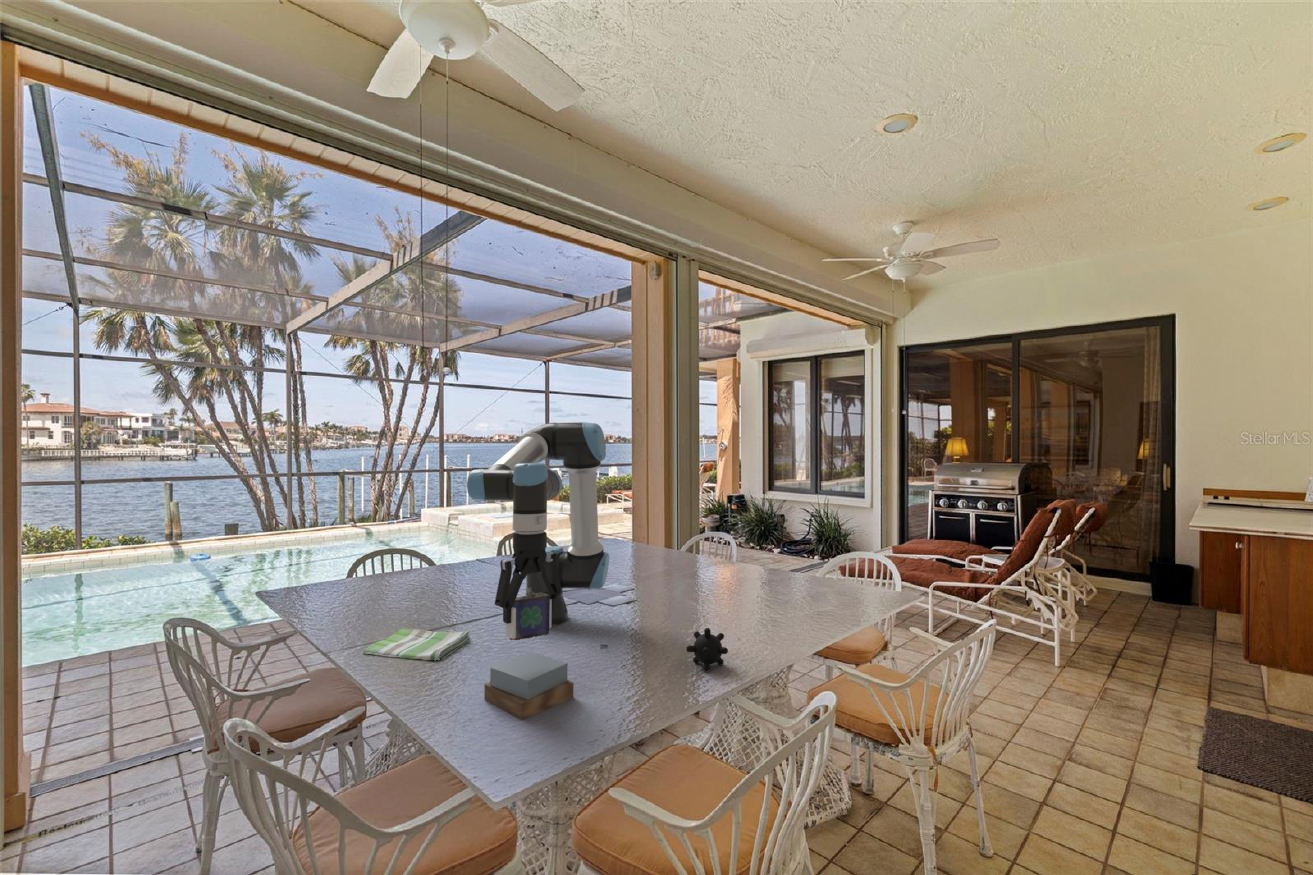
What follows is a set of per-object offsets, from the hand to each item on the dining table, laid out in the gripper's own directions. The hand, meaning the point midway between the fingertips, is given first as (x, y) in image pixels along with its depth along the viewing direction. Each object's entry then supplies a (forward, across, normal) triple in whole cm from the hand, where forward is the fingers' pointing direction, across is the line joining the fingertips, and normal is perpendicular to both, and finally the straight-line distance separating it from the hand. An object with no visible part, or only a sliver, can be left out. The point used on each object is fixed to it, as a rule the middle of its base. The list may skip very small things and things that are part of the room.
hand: (529, 631), depth 127 cm
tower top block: (+12, 0, 0) cm, 12 cm away
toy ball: (+15, +42, -18) cm, 48 cm away
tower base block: (+16, 0, 0) cm, 16 cm away
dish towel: (+16, -2, +50) cm, 52 cm away
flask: (+1, 0, 0) cm, 1 cm away
